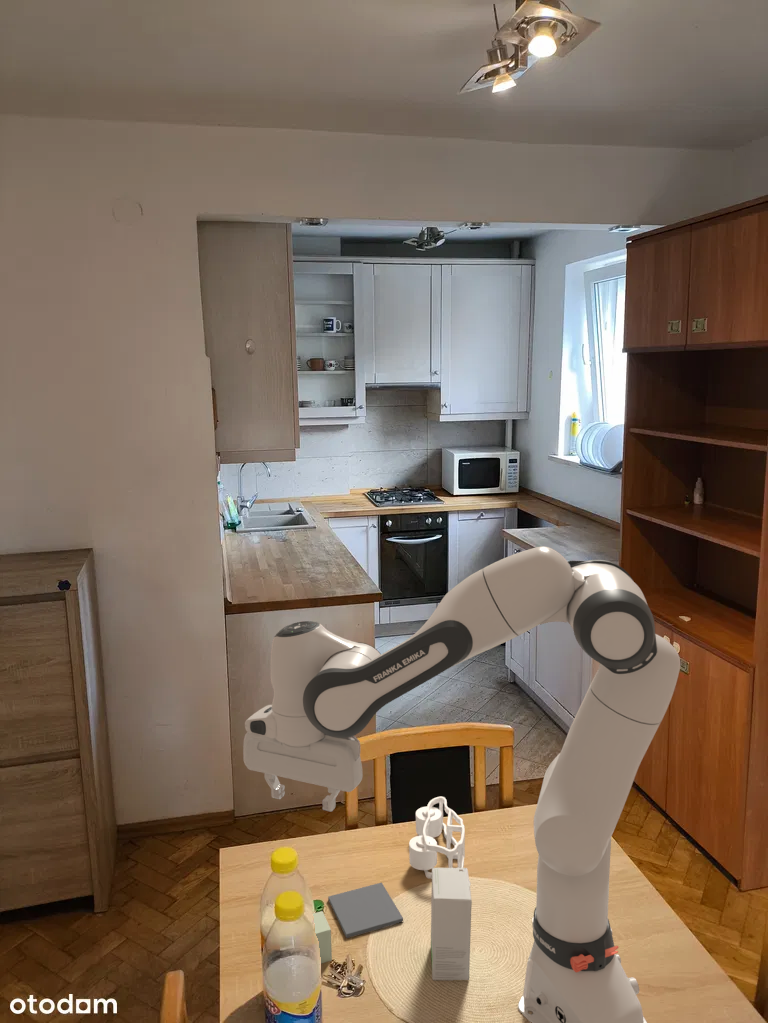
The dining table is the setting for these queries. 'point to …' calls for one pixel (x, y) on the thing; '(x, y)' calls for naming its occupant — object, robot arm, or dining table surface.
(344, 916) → the slate mat
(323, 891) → the dining table surface
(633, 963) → the dining table surface
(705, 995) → the dining table surface
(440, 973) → the skincare box
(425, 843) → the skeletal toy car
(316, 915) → the sage block
